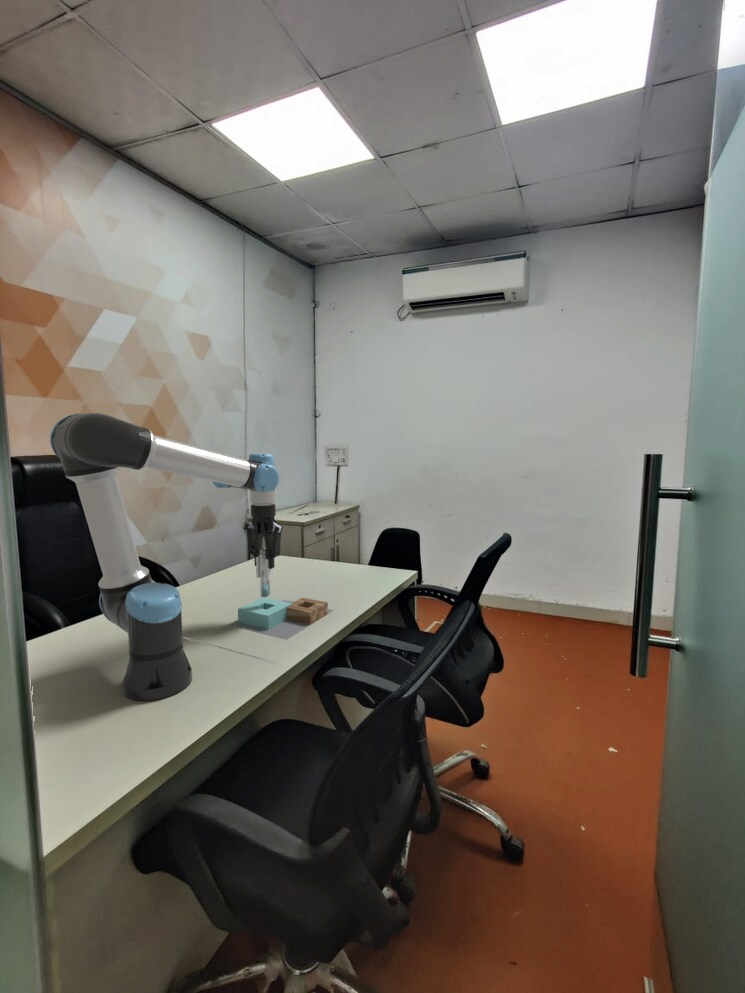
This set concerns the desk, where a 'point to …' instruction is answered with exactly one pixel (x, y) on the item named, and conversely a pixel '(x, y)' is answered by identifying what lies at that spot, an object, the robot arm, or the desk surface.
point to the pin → (263, 574)
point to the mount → (307, 611)
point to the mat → (278, 628)
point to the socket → (263, 613)
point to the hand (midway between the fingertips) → (264, 577)
